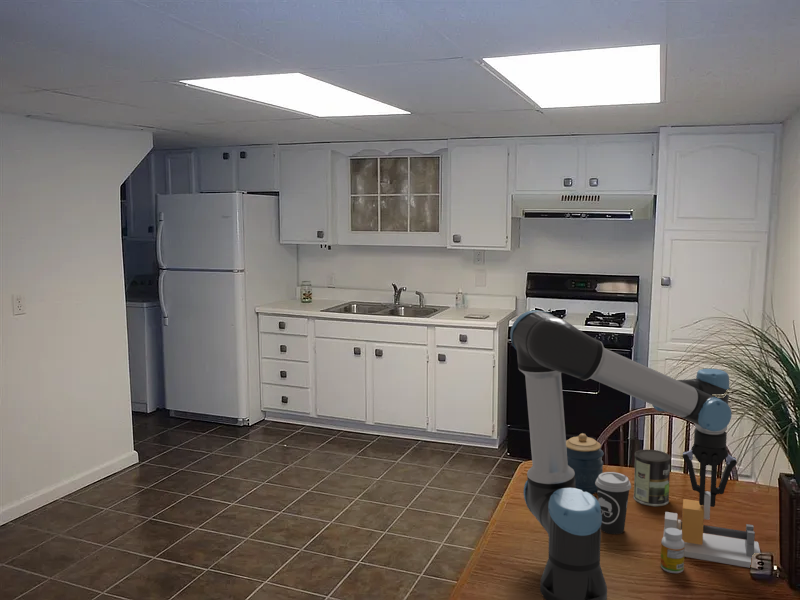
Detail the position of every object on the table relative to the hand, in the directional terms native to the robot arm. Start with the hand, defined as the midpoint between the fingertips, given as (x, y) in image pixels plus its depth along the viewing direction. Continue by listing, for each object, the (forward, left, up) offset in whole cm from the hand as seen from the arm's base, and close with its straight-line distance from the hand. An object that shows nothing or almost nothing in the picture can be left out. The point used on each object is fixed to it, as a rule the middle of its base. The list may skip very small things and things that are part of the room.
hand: (706, 517), depth 178 cm
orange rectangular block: (0, +3, -6) cm, 7 cm away
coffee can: (+27, +15, -9) cm, 32 cm away
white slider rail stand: (0, -1, -9) cm, 9 cm away
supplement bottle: (-13, +8, -9) cm, 18 cm away
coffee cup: (+3, +24, -9) cm, 26 cm away
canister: (+29, +36, -9) cm, 47 cm away
